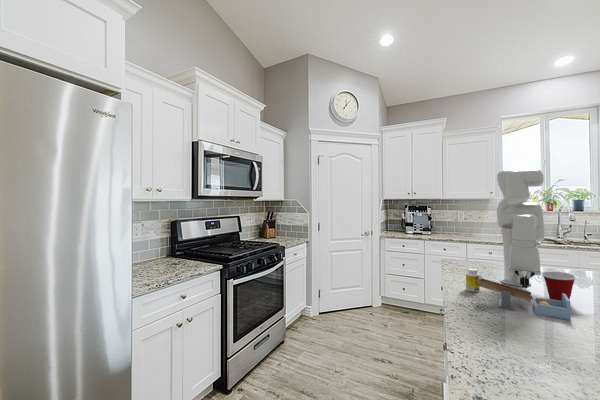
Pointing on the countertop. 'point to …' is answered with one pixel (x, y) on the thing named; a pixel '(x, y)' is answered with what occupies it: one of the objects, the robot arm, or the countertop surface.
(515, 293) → the lever
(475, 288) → the supplement bottle
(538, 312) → the blue tray
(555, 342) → the countertop surface
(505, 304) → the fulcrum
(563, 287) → the plastic cup
